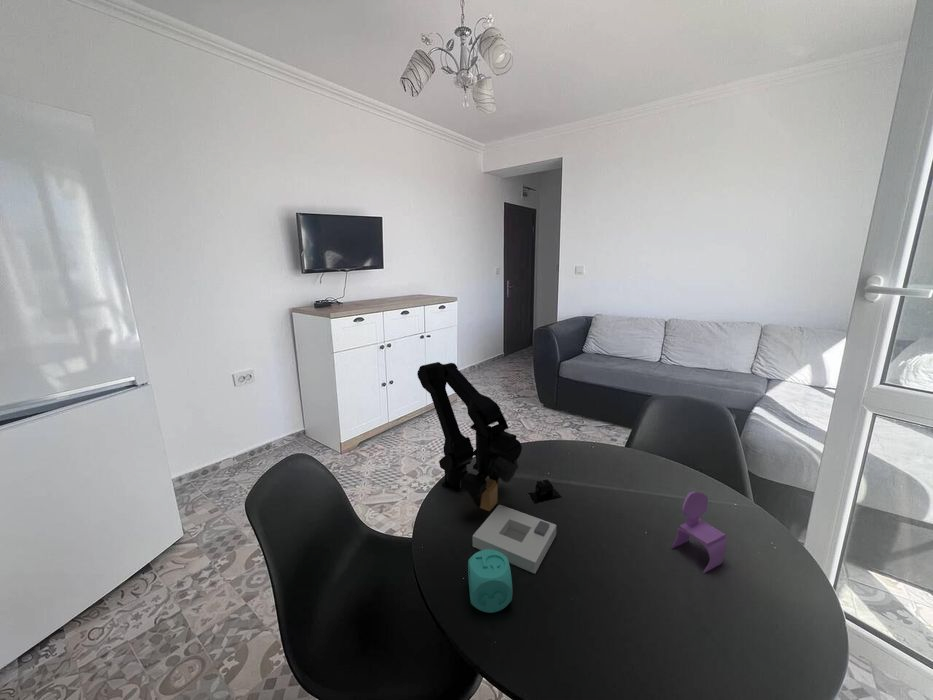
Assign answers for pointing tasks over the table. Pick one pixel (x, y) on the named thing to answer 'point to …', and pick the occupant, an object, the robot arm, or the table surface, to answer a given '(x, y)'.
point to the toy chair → (701, 529)
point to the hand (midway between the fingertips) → (486, 497)
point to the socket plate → (516, 537)
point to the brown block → (489, 495)
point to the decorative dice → (489, 580)
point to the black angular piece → (544, 492)
